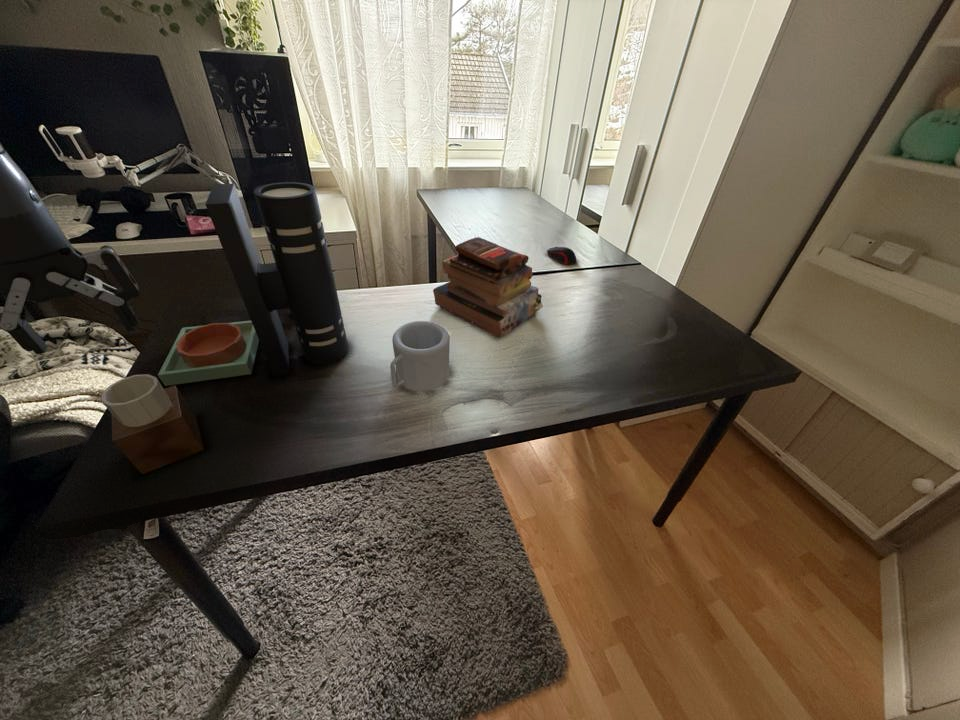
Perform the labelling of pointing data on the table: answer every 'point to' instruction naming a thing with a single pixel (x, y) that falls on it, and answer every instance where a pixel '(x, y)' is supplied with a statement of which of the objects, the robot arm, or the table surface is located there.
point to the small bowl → (136, 400)
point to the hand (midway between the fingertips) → (88, 338)
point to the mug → (420, 356)
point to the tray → (182, 373)
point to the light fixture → (283, 270)
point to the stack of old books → (488, 287)
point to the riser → (160, 436)
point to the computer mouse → (562, 255)
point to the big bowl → (211, 345)
